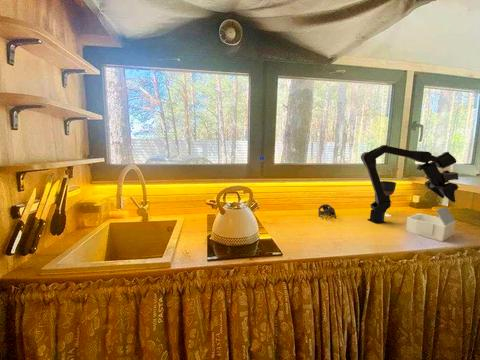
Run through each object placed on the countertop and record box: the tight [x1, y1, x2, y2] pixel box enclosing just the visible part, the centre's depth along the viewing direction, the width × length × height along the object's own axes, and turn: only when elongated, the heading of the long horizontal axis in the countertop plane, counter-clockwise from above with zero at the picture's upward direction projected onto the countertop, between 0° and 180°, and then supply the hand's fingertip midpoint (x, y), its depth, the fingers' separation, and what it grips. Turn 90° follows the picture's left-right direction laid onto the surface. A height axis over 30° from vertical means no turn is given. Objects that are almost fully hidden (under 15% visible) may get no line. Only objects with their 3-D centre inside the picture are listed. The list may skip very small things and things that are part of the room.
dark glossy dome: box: [317, 203, 337, 218], centre depth 136 cm, size 12×10×8 cm
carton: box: [405, 212, 456, 243], centre depth 112 cm, size 15×15×7 cm
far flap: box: [435, 206, 456, 225], centre depth 106 cm, size 7×12×1 cm
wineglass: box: [380, 180, 397, 217], centre depth 139 cm, size 8×9×20 cm
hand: (448, 199), depth 117 cm, fingers open, 9 cm apart
